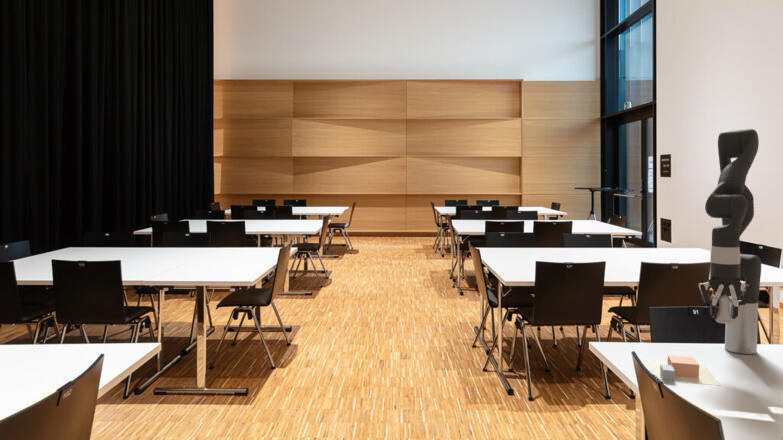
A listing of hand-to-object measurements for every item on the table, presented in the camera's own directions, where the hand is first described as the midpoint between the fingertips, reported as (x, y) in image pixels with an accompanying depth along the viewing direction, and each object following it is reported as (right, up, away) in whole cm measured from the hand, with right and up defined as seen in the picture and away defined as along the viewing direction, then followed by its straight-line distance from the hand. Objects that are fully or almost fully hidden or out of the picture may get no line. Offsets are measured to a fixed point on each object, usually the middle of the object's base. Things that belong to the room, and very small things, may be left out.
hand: (723, 317), depth 160 cm
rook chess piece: (0, -2, 0) cm, 2 cm away
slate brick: (-20, -16, -6) cm, 26 cm away
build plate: (-13, -17, -2) cm, 22 cm away
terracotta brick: (-13, -16, -2) cm, 21 cm away
